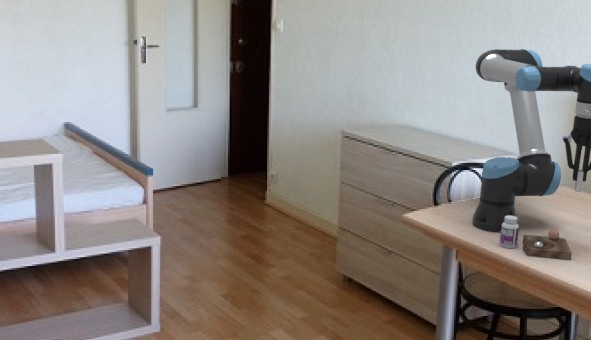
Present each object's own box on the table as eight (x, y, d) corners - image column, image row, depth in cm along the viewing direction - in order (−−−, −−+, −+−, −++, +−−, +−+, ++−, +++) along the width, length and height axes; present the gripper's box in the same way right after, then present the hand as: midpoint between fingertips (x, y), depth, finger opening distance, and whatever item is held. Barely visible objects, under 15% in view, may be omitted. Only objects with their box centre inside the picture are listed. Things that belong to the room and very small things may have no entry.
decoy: (548, 240, 241) (549, 230, 240) (546, 237, 244) (548, 227, 243) (559, 241, 240) (560, 231, 240) (557, 238, 244) (559, 228, 243)
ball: (538, 240, 236) (546, 247, 235) (536, 237, 239) (545, 244, 239) (530, 248, 236) (539, 255, 236) (529, 246, 240) (538, 252, 240)
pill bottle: (508, 241, 246) (511, 213, 244) (520, 247, 242) (523, 218, 239) (496, 244, 244) (499, 215, 241) (507, 249, 239) (510, 220, 237)
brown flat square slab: (525, 255, 234) (526, 248, 233) (521, 241, 246) (521, 234, 246) (570, 260, 232) (571, 252, 231) (564, 245, 244) (565, 238, 244)
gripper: (567, 116, 226) (557, 192, 232) (613, 119, 223) (602, 196, 229) (563, 112, 233) (554, 185, 239) (608, 115, 230) (597, 189, 237)
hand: (577, 190), depth 234 cm, fingers closed
